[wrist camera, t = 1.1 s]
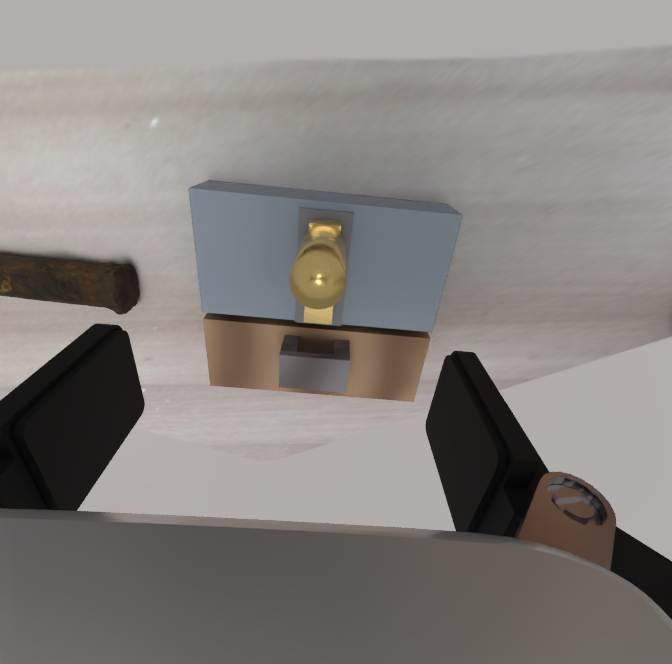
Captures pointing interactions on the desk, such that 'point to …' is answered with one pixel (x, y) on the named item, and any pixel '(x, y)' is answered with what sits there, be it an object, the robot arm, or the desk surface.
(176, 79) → the desk surface
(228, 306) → the door leaf
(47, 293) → the hand tool
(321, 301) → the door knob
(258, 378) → the door jamb
